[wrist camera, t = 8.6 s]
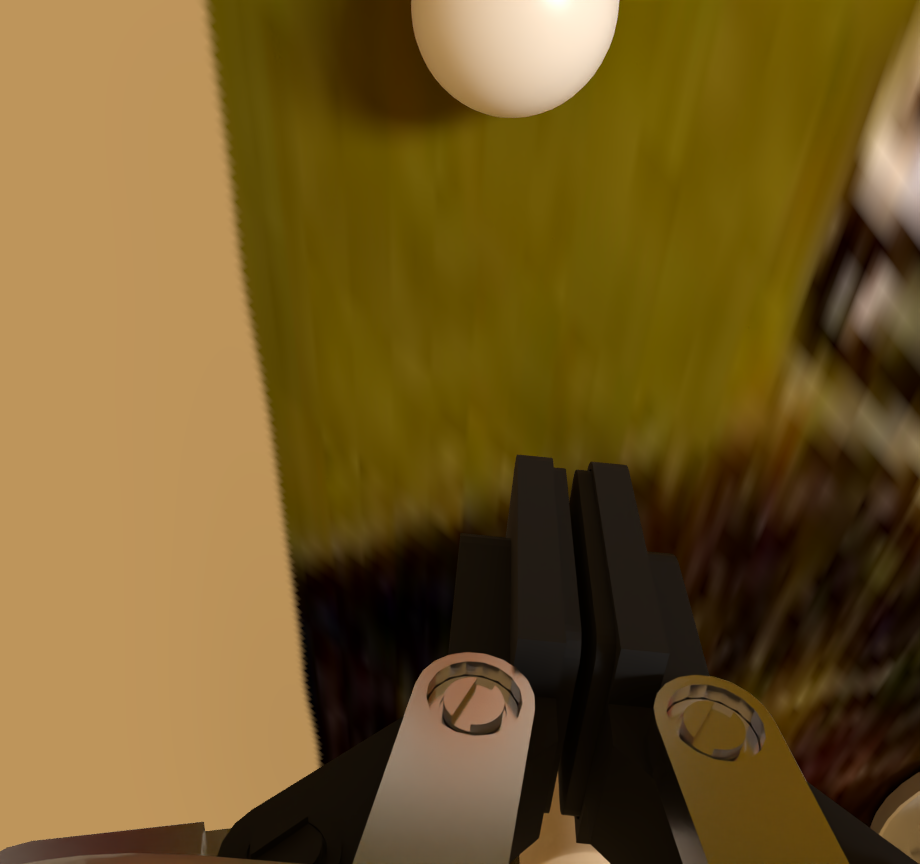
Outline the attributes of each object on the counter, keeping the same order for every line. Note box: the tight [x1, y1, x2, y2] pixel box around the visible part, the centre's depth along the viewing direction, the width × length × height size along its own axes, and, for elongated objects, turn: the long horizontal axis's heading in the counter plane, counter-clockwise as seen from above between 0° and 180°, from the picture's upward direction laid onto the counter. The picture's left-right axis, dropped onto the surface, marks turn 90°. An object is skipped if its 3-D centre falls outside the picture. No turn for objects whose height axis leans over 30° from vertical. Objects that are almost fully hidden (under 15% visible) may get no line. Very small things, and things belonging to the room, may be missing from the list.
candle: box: [520, 773, 610, 864], centre depth 36 cm, size 6×6×10 cm
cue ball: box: [411, 0, 619, 118], centre depth 22 cm, size 6×6×6 cm
